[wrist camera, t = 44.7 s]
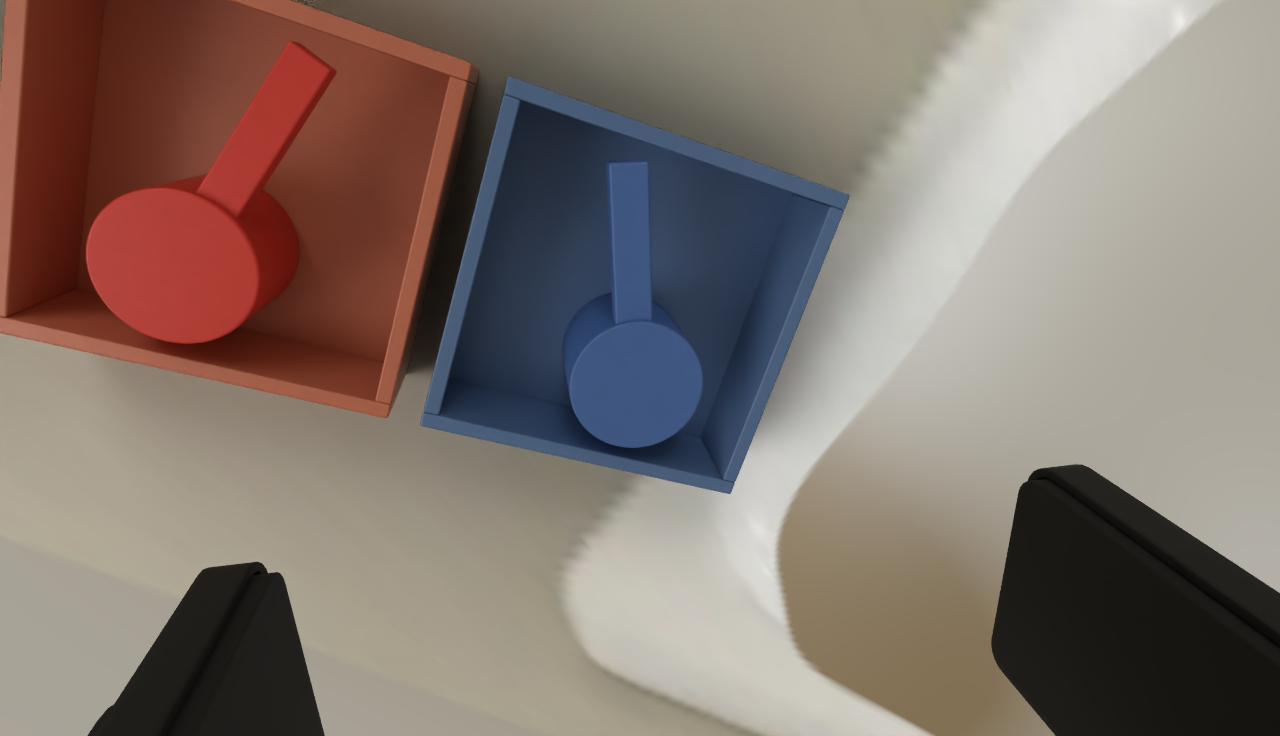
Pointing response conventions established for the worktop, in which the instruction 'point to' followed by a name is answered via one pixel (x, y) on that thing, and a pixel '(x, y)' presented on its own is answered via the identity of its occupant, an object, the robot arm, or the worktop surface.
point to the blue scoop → (630, 335)
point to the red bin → (187, 147)
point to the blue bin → (580, 271)
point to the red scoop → (211, 224)
